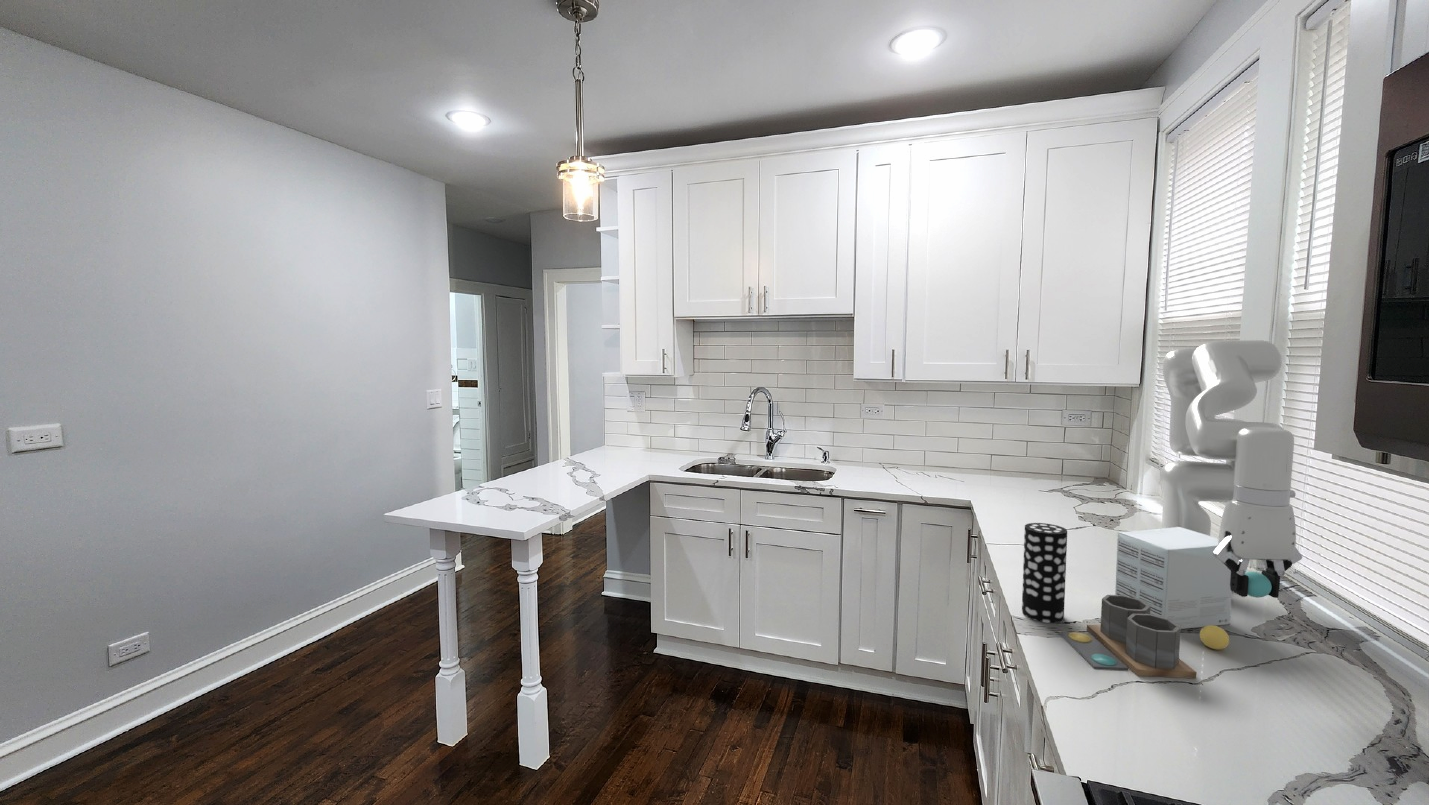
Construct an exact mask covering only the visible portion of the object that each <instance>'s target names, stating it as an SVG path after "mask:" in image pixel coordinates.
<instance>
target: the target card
mask: <svg viewBox="0 0 1429 805" xmlns="http://www.w3.org/2000/svg"><path fill="white" fill-rule="evenodd" d="M1058 634H1059V635H1060V636H1061V637H1062V638H1063V639H1064V640H1065V641H1066V642H1067V644H1069V645H1070V646H1071V647H1072V648H1073V649H1074V650H1075V651H1076V653H1078V654H1079V655H1080V656H1081V657H1082V658H1083V659H1084V660H1085V661H1086V662H1087V663H1088V665H1090V666H1091V667H1092V668H1093V669H1095V670H1097V669H1098V670H1125V671H1126V670H1127V671H1129V668H1128V667H1127V666H1126V665H1125V664H1124V663H1123V662H1122V661H1120V660H1119V659H1118V658H1117V657H1116V656H1115V655H1114V654H1113V653H1112V652H1110V651H1109V650H1108V649H1107V648H1106V647H1105V646H1104V645H1103V644H1102V643H1100V642H1099V641H1098V640H1097V639H1096V638H1095V637H1094V636H1093V635H1092V634H1090V633H1089V632H1088V631H1087V632H1086V631H1085V632H1082V631H1080V632H1079V631H1058Z"/></svg>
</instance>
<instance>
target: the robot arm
mask: <svg viewBox="0 0 1429 805" xmlns="http://www.w3.org/2000/svg"><path fill="white" fill-rule="evenodd" d="M1281 367H1282V356H1281V353H1280V350H1279V348H1278V347H1277V346H1276V345H1275V344H1274V343H1272V342H1270V341H1268V340H1258V339H1256V340H1255V339H1251V340H1246V339H1245V340H1215V341H1214V340H1213V341H1210V342H1205V343H1203V344H1201V345H1200V346H1198V347H1186V348H1177V349H1174V350H1171V351H1169V352H1168V353H1166V354H1165V356H1164V358H1163V362H1162V375H1163V380H1164V383H1165V386H1166V388H1167V391H1168V394H1169V397H1170V410H1169V411H1170V413H1169V414H1170V415H1169V434H1168V435H1169V437H1168V438H1169V439H1168V440H1169V445H1170V449H1171V451H1172V452H1174V453H1175V454H1176V455H1177V454H1178V455H1181V456H1188V457H1190V456H1191V457H1199V458H1203V459H1206V460H1207V459H1208V460H1220V461H1221V460H1222V461H1225V462H1223V463H1222V462H1206V461H1193V460H1192V461H1191V460H1175V461H1170V462H1168V463H1165V464H1164V465H1163V466H1162V468H1161V470H1160V474H1159V481H1160V487H1161V488H1160V489H1161V495H1162V497H1161V498H1162V518H1161V519H1162V521H1161V524H1162V525H1161V529H1163V528H1173V527H1181V528H1185V529H1188V530H1191V531H1195V532H1198V533H1202V534H1205V535H1208V536H1211V530H1212V529H1211V528H1212V522H1211V521H1212V520H1211V517H1210V516H1209V515H1210V514H1208V513H1207V511H1206V510H1205V509H1204V508H1203V507H1202V506H1201V505H1200V503H1199V502H1212V503H1226V504H1225V507H1224V510H1223V512H1222V516H1221V521H1220V525H1219V532H1218V546H1217V548H1216V549H1215V550H1214V551H1213V552H1212V555H1213V556H1214V557H1216V558H1217V559H1219V560H1220V561H1222V563H1224V564H1225V565H1226V566H1227V568H1228V569H1229V570H1231V577H1230V589H1231V591H1232V593H1235V594H1236V595H1239V596H1241V597H1242V598H1247V597H1248V596H1249V595H1248V582H1249V577H1248V576H1247V575H1245V573H1246V572H1247V570H1248V568H1249V564H1250V561H1254V560H1256V561H1257V560H1258V561H1259V560H1261V561H1263V562H1264V568H1265V569H1263V570H1261V573H1260V574H1263V575H1264V576H1266V577H1267V578H1268V579H1269V581H1270V582H1271V586H1272V589H1271V592H1270V593H1269V594H1268V595H1267V596H1270V597H1272V598H1274V599H1275V598H1279V596H1280V595H1279V594H1280V588H1281V586H1280V584H1281V577H1285V575H1286V571H1287V570H1288V569H1290V568H1291V567H1292V566H1293V565H1295V564H1296V563H1298V562H1300V561H1302V560H1303V555H1302V554H1301V553H1300V551H1299V549H1298V548H1297V545H1296V544H1297V530H1296V518H1295V513H1294V512H1295V511H1294V509H1293V506H1292V505H1290V501H1291V498H1292V499H1293V498H1295V497H1296V491H1295V490H1292V489H1291V488H1292V477H1293V476H1292V474H1293V473H1292V472H1293V464H1294V463H1293V461H1294V450H1295V437H1294V434H1293V433H1292V432H1291V431H1289V430H1286V429H1285V428H1284V427H1282V426H1281V425H1280V424H1277V423H1273V422H1261V421H1260V422H1259V421H1245V420H1241V419H1235V418H1216V416H1220V415H1222V414H1227V413H1230V412H1233V411H1236V410H1240V409H1241V408H1244V407H1246V406H1248V405H1249V404H1250V403H1252V401H1253V400H1254V399H1256V396H1257V393H1258V388H1257V384H1256V383H1262V382H1267V381H1269V380H1272V379H1273V378H1275V377H1276V376H1278V373H1279V372H1280V370H1281ZM1228 552H1232V553H1231V556H1230V558H1229V557H1228V556H1227V553H1228Z"/></svg>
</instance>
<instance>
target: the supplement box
mask: <svg viewBox="0 0 1429 805" xmlns="http://www.w3.org/2000/svg"><path fill="white" fill-rule="evenodd" d="M1218 539H1219V537H1218V538H1217V537H1216V536H1215V537H1214V536H1212V535H1210V536H1208V535H1205V534H1202V533H1198V532H1195V531H1191V530H1188V529H1185V528H1181V527H1173V528H1163V529H1162V528H1154V529H1153V528H1151V529H1141V530H1132V531H1131V530H1130V531H1118V532H1117V539H1116V540H1117V541H1116V542H1117V543H1116V568H1115V569H1116V570H1115V591H1114V592H1115V594H1114V595H1124V596H1128V597H1132V598H1136V599H1139V600H1142V601H1143V602H1145V603H1146V604H1148V605H1149V606H1150V614H1152V615H1155V616H1159V617H1162V618H1166V619H1169V620H1171V621H1173V622H1174V623H1175V624H1177V625H1178V626H1180V627H1181V630H1184V629H1193V628H1203V627H1205V626H1208V625H1214V626H1224V625H1229V624H1230V623H1231V614H1232V613H1231V612H1232V598H1233V597H1232V596H1233V592H1232V591H1231V589H1230V577H1231V570H1229V569H1228V568H1227V566H1226V565H1225V564H1224V563H1222V561H1220V560H1219V559H1217V558H1216V557H1214V556H1213V555H1212V552H1213V551H1214V550H1215V549H1216V548H1217V546H1218ZM1231 553H1232V552H1228V553H1227V556H1228V557H1229V558H1230V556H1231Z"/></svg>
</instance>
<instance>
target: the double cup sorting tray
mask: <svg viewBox="0 0 1429 805" xmlns="http://www.w3.org/2000/svg"><path fill="white" fill-rule="evenodd" d="M1100 611H1101V612H1100V624H1086V631H1087V633H1090V634H1091V635H1092V636H1093V637H1095V638H1096V639H1097V640H1098V641H1099V642H1100V643H1101V644H1102V645H1103V646H1105V647H1106V648H1107V649H1108V650H1109V651H1110V652H1111V653H1112V654H1113V655H1115V656H1116V657H1117V658H1118V659H1119V660H1120V661H1121V662H1122V663H1123V664H1125V665H1126V666H1127V667H1128V670H1131V671H1132V672H1133V673H1134V675H1136V676H1138V677H1152V678H1153V677H1155V678H1156V677H1157V678H1158V677H1159V678H1180V679H1181V678H1182V679H1197V671H1196V670H1195V669H1193V668H1192V667H1191V666H1189V665H1188V664H1187V663H1185V662H1184V661H1183V660H1182V659H1180V647H1181V646H1180V645H1181V644H1180V643H1181V631H1182V629H1181V627H1180V626H1178V625H1177V624H1175V623H1174V622H1173V621H1171V620H1169V619H1166V618H1162V617H1159V616H1155V615H1152V614H1150V606H1149V605H1148V604H1146V603H1145V602H1143V601H1142V600H1139V599H1136V598H1132V597H1128V596H1124V595H1115V594H1107V595H1104V597H1102V598H1101V610H1100Z"/></svg>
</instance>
